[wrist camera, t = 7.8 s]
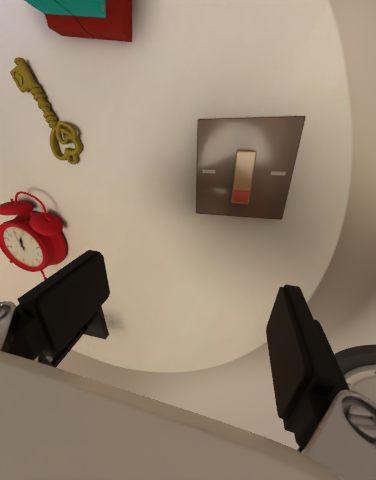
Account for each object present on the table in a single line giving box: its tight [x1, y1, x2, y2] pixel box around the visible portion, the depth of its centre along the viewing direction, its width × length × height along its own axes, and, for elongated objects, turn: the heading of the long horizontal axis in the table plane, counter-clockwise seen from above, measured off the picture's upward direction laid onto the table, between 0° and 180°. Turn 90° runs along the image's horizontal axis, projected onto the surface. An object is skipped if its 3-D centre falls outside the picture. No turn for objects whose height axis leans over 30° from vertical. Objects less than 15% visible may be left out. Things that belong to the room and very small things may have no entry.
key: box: [10, 58, 83, 164], centre depth 24 cm, size 12×1×5 cm
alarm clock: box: [0, 192, 67, 280], centre depth 32 cm, size 10×6×15 cm
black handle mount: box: [38, 306, 109, 368], centre depth 37 cm, size 12×10×12 cm
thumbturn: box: [231, 150, 257, 204], centre depth 19 cm, size 4×2×5 cm, turn 0°
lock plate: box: [196, 116, 305, 219], centre depth 21 cm, size 10×10×2 cm
